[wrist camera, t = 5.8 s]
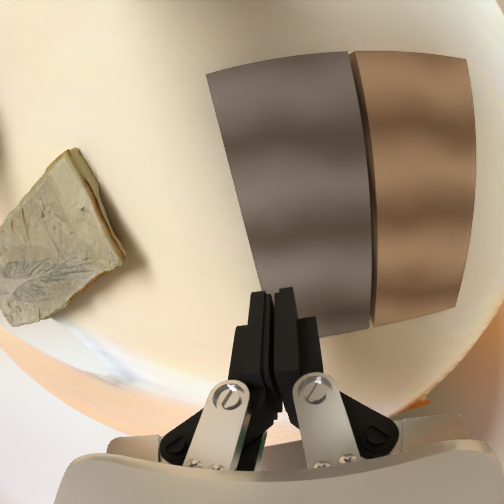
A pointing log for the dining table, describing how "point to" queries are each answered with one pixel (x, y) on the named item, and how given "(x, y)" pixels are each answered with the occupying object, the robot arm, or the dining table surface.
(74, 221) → the stone slab
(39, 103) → the dining table surface
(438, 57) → the walnut board
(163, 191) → the dining table surface
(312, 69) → the smoked oak plank
